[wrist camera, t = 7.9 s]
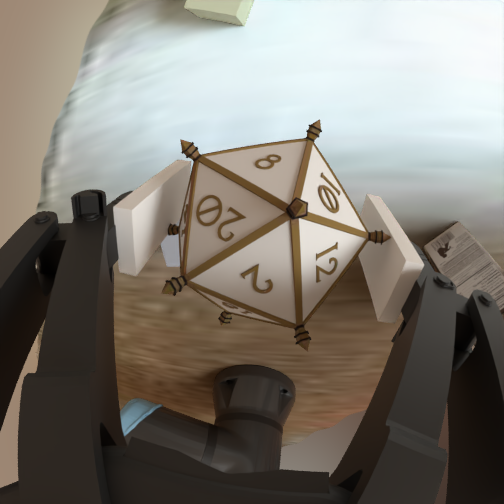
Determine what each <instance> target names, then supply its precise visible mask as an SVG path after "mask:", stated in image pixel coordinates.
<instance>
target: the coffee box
mask: <svg viewBox="0 0 504 504" xmlns="http://www.w3.org/2000/svg"><path fill="white" fill-rule="evenodd" d="M424 250H425V252H426V254H427V255H428V257H429V259H430V261H431V263H432V265H433V267H434V269H435V270H436V272H438V273H441V274H443V275H445V276H446V277H448V278H449V279H450V280H451V281H453V283H454V284H455V286H456V289H457V294H459V295H461V296H464V297H466V298H468V299H469V297H470V295H471V294H472V292H473V291H474V290H476V289H478V290H482V291H484V292H487V293H488V294H490V295H491V296H492V298H493V299H494V300H495V302H496V303H497V305H498V307H499V310H500V312H501V314H502V317H503V319H504V271H503V270H502V269H501V267H500V266H499V265H498V264H497V263H496V261H495V260H494V259H493V258H492V257H491V256H490V254H489V253H488V252H487V251H486V250H485V249H484V248H483V246H482V245H481V244H480V243H479V242H478V241H477V240H476V239H475V237H474V236H473V235H472V234H471V233H470V232H469V231H468V230H467V229H466V228H465V227H464V226H463V225H462V224H461V223H460V222H457V223H456V224H454V225H453V226H452V227H450V228H449V229H447V230H446V231H445V232H443V233H442V234H440V235H439V236H438V237H436V238H435V239H433V240H432V241H430V242H429V243H428V244H426V245H425V246H424ZM475 345H476V342H475V344H474V346H475Z"/></svg>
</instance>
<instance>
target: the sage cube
mask: <svg viewBox="0 0 504 504" xmlns="http://www.w3.org/2000/svg"><path fill="white" fill-rule="evenodd" d="M253 2H254V0H186V3H185V6H184V8H185V9H187V10H188V11H190V12H192V13H193V14H195V15H196V16H198V17H199V18H205V19H211V20H216V21H222V22H227V23H232V24H236V25H241V26H245V24H246V21H247V18H248V16H249V13H250V10H251V8H252V5H253Z"/></svg>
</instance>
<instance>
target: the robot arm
mask: <svg viewBox="0 0 504 504" xmlns="http://www.w3.org/2000/svg"><path fill="white" fill-rule="evenodd" d="M190 169H191V161H184V160H176V161H175V162H173V163H172V164H171V165H169V166H168V167H166V168H165V169H163V170H162V171H161V172H159V173H158V174H156V175H155V176H154V177H152V178H151V179H149V180H148V181H147V182H145V183H144V184H143V185H141V186H140V187H139V188H137V189H136V190H135V191H129V192H127V193H124V194H122V195H120V196H119V197H118V198H116V200H114V201H112V202H111V203H110V204H108V205H107V206H106V194H105V192H103V191H102V190H85V191H81V192H78V193H76V194H74V195H73V196H72V197H71V200H72V209H73V217H74V219H73V222H72V223H59V224H58V218H57V214H56V213H54V212H50V211H47V212H46V211H42V212H38V213H37V214H35V215H33V216H32V217H30V218H29V219H28V220H27V221H26V222H25V223H24V224H23V225H22V226H21V227H20V228H19V229H18V230H17V231H16V232H15V233H14V234H13V235H12V237H11V238H10V239H9V240H8V241H7V242H6V243H5V244H4V245H3V246H2V247H1V249H0V431H1V428H2V425H3V422H4V419H5V416H6V412H7V409H8V406H9V403H10V401H11V398H12V395H13V392H14V389H15V387H16V383H17V381H18V379H19V376H20V373H21V371H22V369H23V366H24V364H25V361H26V359H27V356H28V354H29V352H30V350H31V347H32V345H33V343H34V341H35V339H36V336H37V334H38V332H39V330H40V328H41V326H42V324H43V322H44V320H45V324H44V329H43V334H42V340H41V346H40V352H39V359H38V367H37V371H36V373H28V374H27V375H26V376H25V377H24V380H23V384H22V391H21V400H20V412H19V429H18V478H19V481H17V482H14V483H12V484H9V485H7V486H4V487H2V488H0V504H434V503H435V499H436V497H437V494H438V491H439V487H440V484H441V481H442V477H443V474H444V470H445V466H446V462H447V452H446V450H445V449H442V448H440V447H438V441H439V436H440V432H441V428H442V423H443V419H444V414H445V408H446V403H447V404H448V426H449V463H448V484H447V496H446V504H504V319H503V317H502V314H501V312H500V310H499V307H498V305H497V303H496V302H495V300H494V299H493V298H492V296H491V295H490V294H488V293H487V292H484V291H482V290H478V289H476V290H474V291H473V292H472V294H471V295H470V297H469V299H468V298H466V297H464V296H461V295H459V294H457V289H456V286H455V284H454V283H453V281H451V280H450V279H449V278H448V277H446V276H445V275H443V274H441V273H438V272H435V271H434V270H433V268H432V266H431V265H430V263H429V262H428V261H427V258H426V257H425V256H424V254H423V252H422V251H421V249H420V248H419V247H418V246H417V245H416V244H415V243H413V242H411V241H410V240H409V239H408V237H407V236H406V234H405V233H404V231H403V230H402V228H401V227H400V225H399V224H398V222H397V221H396V219H395V218H394V216H393V215H392V213H391V212H390V210H389V209H388V208H387V206H386V205H385V203H384V202H383V201H382V199H381V198H380V197H378V196H374V195H370V194H367V195H366V199H365V202H364V205H363V209H362V212H361V215H360V218H361V219H362V221H363V223H364V225H365V226H366V228H367V230H368V232H374V231H375V230H377V231H381V230H383V232H384V233H386V234H387V235H389V236H390V237H391V238H390V239H389V240H387V241H385V242H384V243H382V245H381V243H376V244H375V243H374V242H372V241H368V242H367V243H366V245H365V246H364V248H363V249H362V251H361V252H360V253H359V255H358V256H359V259H360V262H361V265H362V268H363V271H364V275H365V278H366V281H367V284H368V288H369V291H370V295H371V298H372V302H373V305H374V309H375V312H376V316H377V320H378V321H381V322H389V323H395V322H396V320H397V318H398V317H399V315H400V313H401V311H402V314H403V317H404V320H403V322H402V324H401V325H400V327H399V329H398V331H397V332H396V334H395V336H394V337H393V339H392V341H391V342H393V343H394V344H393V347H392V350H391V353H390V355H389V358H388V361H387V363H386V366H385V369H384V371H383V374H382V376H381V379H380V381H379V383H378V386H377V388H376V390H375V393H374V395H373V397H372V400H371V402H370V404H369V406H368V408H367V411H366V413H365V415H364V417H363V419H362V421H361V423H360V425H359V428H358V429H357V432H356V433H355V436H354V437H353V439H352V441H351V443H350V445H349V447H348V449H347V451H346V452H345V454H344V456H343V458H342V460H341V461H340V463H339V465H338V467H337V468H336V470H335V471H334V472H333V474H332V475H331V476H330V477H329V472H310V471H294V470H283V469H281V470H279V467H280V456H281V446H282V433H283V426H284V424H285V422H286V420H287V418H288V416H289V413H290V411H291V409H292V407H293V405H294V402H295V386H294V384H293V382H292V381H291V380H290V379H289V378H288V377H287V376H286V375H284V374H282V373H281V372H278V371H276V370H274V369H271V368H267V367H262V366H255V365H240V366H234V367H230V368H227V369H225V370H223V371H221V372H220V373H219V374H218V375H217V376H216V378H215V382H214V386H213V400H214V408H215V415H216V419H215V423H214V425H213V424H210V423H207V422H204V421H201V420H198V419H195V418H193V417H190V416H187V415H184V414H182V413H179V412H176V411H174V410H171V409H168V408H166V407H163V405H162V404H156V403H153V402H150V401H147V400H145V399H142V398H135V399H132V400H130V401H129V402H128V403H127V404H126V405H125V406H124V407H123V408H122V410H121V411H120V409H119V400H118V390H117V379H116V365H115V348H114V309H113V300H114V272H113V265H114V264H115V262H116V261H117V260H118V264H119V272H121V273H125V274H129V275H134V276H137V275H138V274H139V272H140V271H141V269H142V268H143V267H144V265H145V264H146V263H147V261H148V260H149V259H150V257H151V256H152V255H153V253H154V252H155V251H156V249H157V248H158V247H159V245H160V244H161V243H162V241H163V240H164V239H165V237H166V236H167V235H168V227H169V225H170V223H171V224H172V225H174V224H176V223H177V222H178V221H179V219H180V218H181V214H182V209H183V205H184V200H185V196H186V192H187V188H188V184H189V179H190ZM36 264H37V269H36V266H35V265H36ZM45 318H46V319H45ZM394 341H395V342H394ZM475 342H476V345H475V348H474V349H473V351H472V346H473V345H474V344H475Z"/></svg>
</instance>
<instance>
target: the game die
mask: <svg viewBox="0 0 504 504" xmlns="http://www.w3.org/2000/svg"><path fill="white" fill-rule="evenodd" d="M306 132H307V137H306V138H303V139H295V140H287V141H279V142H272V143H265V144H258V145H252V146H246V147H240V148H234V149H228V150H223V151H217V152H212V153H207V154H202V155H201V154H199V152H198V148H197V147H195V146H194V145H193V144H194V143H193V142H192V143H191V142H187V141H184V140H181V139H180V140H181V146H182V152H181V153H182V154H183V153H184V154H185V155H186V158H188V157H189V158H191V159H192V160H193V161H194V163H193V167H192V171H191V175H190V179H189V184H188V188H187V192H186V196H185V200H184V205H183V209H182V214H181V218H180V223H179V226H177V225H176V224H174V225H172V224H171V223H170V225H169V227H168V235H169V236H170V235H177V234H178V237H179V256H180V272H181V276H180V277H178V278H175V277H172V279H171V280H166V284H165V286H164V288H163V290H162V294H173V295H174V296H175V295H176V293H177V292H178V291H179V292H181V290H182V288H183V286H185V285H187V286H189V287H190V288H192V289H193V290H194V291H196V292H197V293H199V294H200V295H202V296H203V297H205V298H206V299H208V300H209V301H211V302H212V303H214V304H215V305H217V306H218V307H220V308H221V309H223V310H224V312H222V313H221V316H220V317H219V318H218V319H219V320H220V323H221V326H222V325H225V324H227V323H230V319H232V318H231V314H234V315H238V316H242V317H246V318H250V319H254V320H259V321H263V322H267V323H271V324H276V325H280V326H284V327H289V328H293V329H295V336H294V338H296V340H297V342H296V344H299V345H300V346H301V347H303V348H304V349H305V350H306V351H308V347H309V343H310V340H311V338H310V337H309V336H308V334H309V332H308V331H306V330H305V329H304V325H305V324H306V323H307V321H308V320H309V319H310V318H311V316H312V315H313V314H314V313H315V311H316V310H317V309H318V308H319V306H320V305H321V304H322V303H323V301H324V300H325V299H326V297H327V296H328V295H329V294H330V292H331V291H332V290H333V288H334V287H335V286H336V284H337V283H338V282H339V280H340V279H341V278H342V276H343V275H344V274H345V272H346V271H347V270H348V268H349V267H350V266H351V264H352V263H353V262H354V260H355V259H356V257H357V256H358V255H359V253H360V252H361V251H362V249H363V248H364V246H365V245H366V243H367V242H368V241H372V242H374V243H375V244H376V243H381V245H382V243H384V242H385V241H387V240H389V239H390V238H391V237H390V236H389V235H387V234H386V233H384V232H383V230H381V231H377V230H375V231H374V232H368V230H367V228H366V226H365V225H364V223H363V221H362V219H361V218H360V216H359V214H358V212H357V211H356V209H355V207H354V205H353V204H352V202H351V200H350V199H349V197H348V195H347V194H346V192H345V190H344V189H343V187H342V185H341V184H340V182H339V180H338V179H337V177H336V176H335V174H334V172H333V171H332V169H331V168H330V166H329V165H328V163H327V162H326V160H325V158H324V157H323V155H322V154H321V152H320V151H319V149H318V148H317V146H316V145H315V143H314V141H315V139H316V138H317V137H319V134H320V132H322V130H321V125H320V120H318V121H316V122H315V123H313V124H311V125H309V129H308V130H307V131H306Z"/></svg>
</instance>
